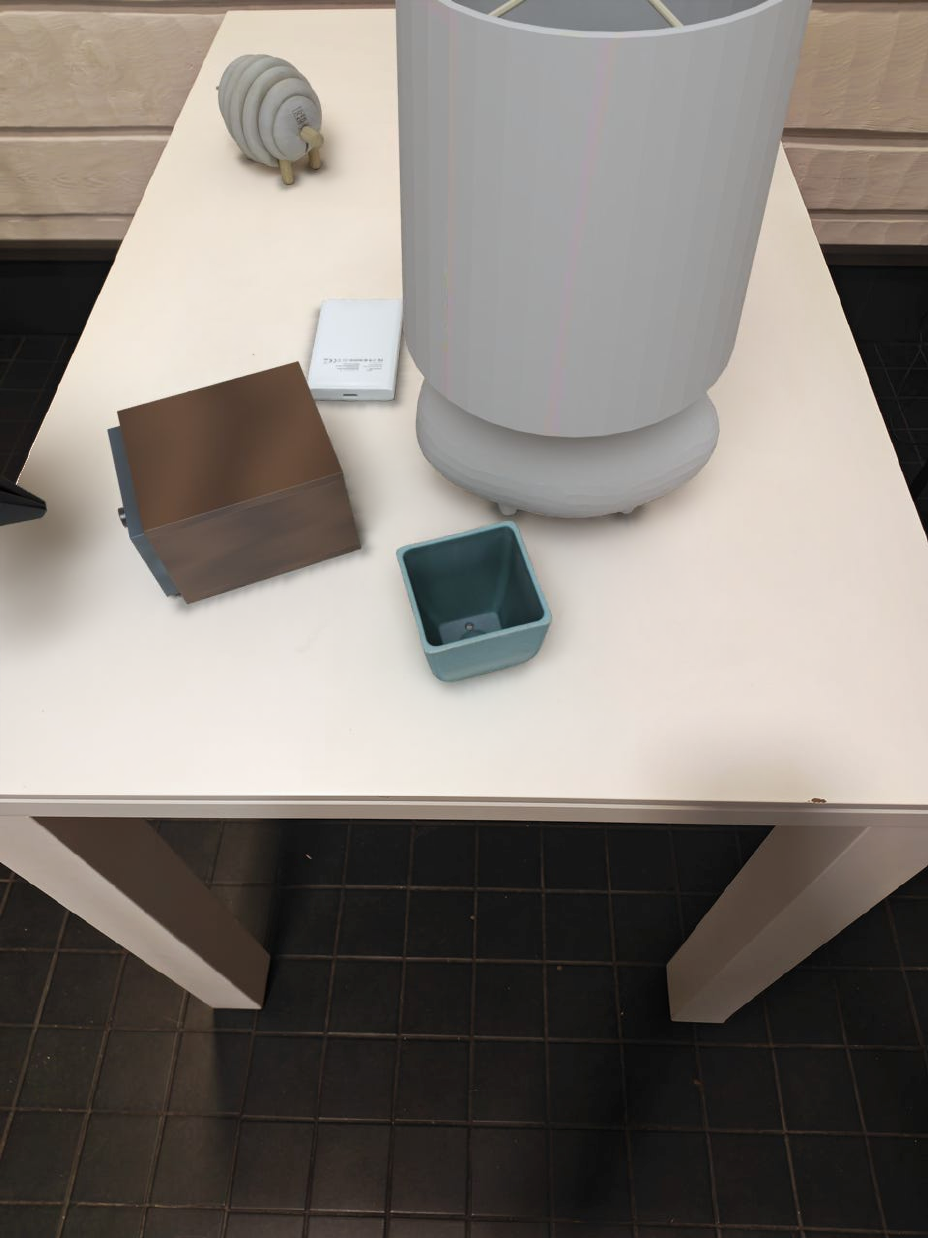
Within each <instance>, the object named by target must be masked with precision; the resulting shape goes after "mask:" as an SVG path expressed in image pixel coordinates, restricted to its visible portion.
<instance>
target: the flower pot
mask: <svg viewBox="0 0 928 1238" xmlns="http://www.w3.org/2000/svg"><path fill="white" fill-rule="evenodd" d="M395 556H396V557H395V558H396V560H397V563H398V566H399V569H400V572H401V577H402V579H403V583H404V586H405V589H406V592H407V593H406V594H407V596H408V600H409V603H410V607H411V610H412V614H413V618H414V620H415V625H416V629H417V632H418V636H419V641H420V644H421V647H422V650H423V653H424V655H425V658H426V660H427V662H428V666H429V668H430V671H431V673H432V674H433V676H434V677H435V678H436V679H438V680H439V681H441V682H444V683H445V682H446V683H452V682H453V683H454V682H457V681H461V680H464V679H465V680H466V679H469V678H473V677H477V676H480V675H484V674H487V673H491V672H495V671H498V670H502V669H507V668H511V667H514V666H518V665H521V664H523V663H526V662H528V661H530V660H532V659H533V658H534V657H535V656H536V655H537V654H538V653H539V651H541V648H542V646H543V644H544V642H545V639H546V636H547V633H548V632H549V628H550V626H551V623H552V621H553V614H552V611H551V609H550V606H549V604H548V601H547V599H546V596H545V594H544V592H543V590H542V586H541V584H540V582H539V579H538V577H537V574H536V572H535V569H534V567H533V564H532V562H531V561H532V560H531V558H530V556H529V553H528V550H527V547H526V545H525V542H524V540H523V537H522V534H521V532H520V528H519V526H518V525H517V523H516V522H515V521H514V520H505V521H499V522H497V523H491V524H487V525H484V526H480V527H476V528H474V529H473V528H472V529H469V530H466V531H465V530H464V531H461V532H457V533H453V534H449V535H446V536H445V535H444V536H440V537H437V538H433V539H428V540H425V541H424V540H423V541H421V542H415V543H411V544H406V545H403V546H401V547H399V548H397V549H396V551H395ZM469 625H470V626H472V628H470V629H468V628H467V626H469Z"/></svg>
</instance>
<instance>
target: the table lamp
mask: <svg viewBox="0 0 928 1238" xmlns="http://www.w3.org/2000/svg"><path fill="white" fill-rule="evenodd" d="M394 2H395V41H396V43H395V44H396V77H397V78H396V80H397V81H396V82H397V84H396V85H397V120H398V121H397V123H398V161H399V162H398V163H399V166H398V167H399V168H398V169H399V200H400V201H399V203H400V242H401V243H400V244H401V283H402V285H401V287H402V291H401V292H402V301H403V323H402V330H403V337H404V341H405V345H406V348H407V351H408V353H409V355H410V357H411V359H412V361H413V363H414V365H415V367H416V369H417V370H418V372H419V373H420V374H421V375H422V376H423V378H424V379H423V381H422V384H421V387H420V390H419V394H418V398H417V401H416V402H417V403H416V413H415V432H416V433H415V434H416V440H417V443H418V446H419V449H420V451H421V453H422V455H423V457H424V458H425V459H426V461H427V462H428V463H429V464H430V465H431V466H432V467H433V469H435V470H436V471H437V472H438V473H439V475H441V476H442V477H444V478H445V479H447V480H448V481H449V482H451V483H452V484H454V485H455V486H456V487H458V488H461V489H463V490H464V491H466V492H468V493H471V494H473V495H475V496H477V497H480V498H482V499H484V500H487V501H490V502H492V503H495V504H498V508H499V509H498V510H499V512H500V514H502V515H504V516H507V517H508V516H514V515H515V514H516V513H517V512H518V510H519V511H523V512H527V513H531V514H536V515H541V516H546V517H551V518H552V517H553V518H559V519H560V518H561V519H585V518H595V517H601V516H606V515H610V514H612V515H613V514H616V513H622V514H631V513H632V512H634V510H635V509H636V508H637V507H640V506H642V505H646V504H648V503H650V502H653V501H655V500H657V499H659V498H662V497H665V496H667V495H668V494H670V493H672V492H674V491H676V490H678V489H679V488H681V487H682V486H684V485H685V484H687V483H688V482H690V481H691V480H692V479H694V478H695V477H696V476H697V475H698V474H699V473H700V472H701V471H702V470H703V468H704V467H705V466H706V465H707V464H708V463H709V461H710V459H711V458H712V456H713V454H714V452H715V450H716V448H717V444H718V441H719V437H720V431H721V430H720V421H719V420H720V419H719V414H718V411H717V408H716V407H715V404H714V403H713V400H711V398H710V396H709V394H708V393H707V392H708V391H709V390H710V389H711V388H712V387H713V386H714V385H715V384H716V383H717V381H718V380H719V379H720V377H721V376H722V375H723V373H724V371H725V370H726V368H727V367H728V364H729V362H730V359H731V357H732V355H733V352H734V349H735V346H736V342H737V341H736V340H737V337H738V333H739V328H740V324H741V318H742V315H743V311H744V310H743V309H744V306H745V302H746V301H745V300H746V298H747V297H746V296H747V292H748V288H749V282H750V279H751V274H752V270H753V265H754V261H755V256H756V252H757V247H758V243H759V239H760V235H761V229H762V227H763V226H762V225H763V221H764V216H765V212H766V208H767V203H768V199H769V194H770V190H771V186H772V181H773V177H774V174H775V173H774V172H775V168H776V164H777V159H778V154H779V150H780V145H781V142H782V136H783V132H784V128H785V124H786V119H787V114H788V110H789V106H790V101H791V97H792V92H793V88H794V83H795V80H796V76H797V75H796V74H797V70H798V65H799V61H800V57H801V53H802V49H803V43H804V40H805V35H806V30H807V26H808V21H809V17H810V13H811V8H812V4H813V0H395V1H394Z"/></svg>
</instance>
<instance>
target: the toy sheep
mask: <svg viewBox="0 0 928 1238" xmlns="http://www.w3.org/2000/svg"><path fill="white" fill-rule="evenodd" d="M215 90H216V91H217V102H218V107H219V112H220V114H221V117H222V119H223V121H224V124H225V126H226V129H227V131H228V133H229V135H230V137H231V138H232V139H233V141H234V142H235V143H236V144H237V146H238V147H239V149H240V150H241V152H242V153H244V158H246V159H247V160H249V161H250V160H252V161H254V162H257V163H260V164H263V165H266V166H269V167H273V168H279V169H280V172H281V176H282V181H283V183H284V184H286V185H291V184H293V183H294V181H295V177H294V172H293V167H292V164H294V163H295V162H296V161H298V160H299V159H301V158H303V157H304V156H306V155H307V156H308V162H309V165H310V167H311V168H312V169H314V170H317V169H320V167H321V165H322V162H321V156H320V152H319V148H321V147H323V145H324V141H325V140H324V136H323V134H321V133H320V132H321V129H322V123H323V122H322V121H323V112H322V111H323V110H322V104H321V102H320V98H319V96H318V94H317V93H316V91H315V89H314V88H313V87H312V85H311V83H310V81H309V80H308V79H307V77H306V76H305V75H304V74H303V73H301V72H300V71H299V70H298V69H297V68H296V66H294V65H293V64H292V63H291V62H289V61H287V60H286V59H283V58H280V57H277V56H272V55H268V54H263V53H262V54H261V53H260V54H259V53H258V54H244V55H240V56H239V57H236V58H235V59H234V60H232V61H231V62H230V63H229V64H228V65H227V67H226V68H225V69H224V71H223V73H222V75H221V78H220V79H219V84H218V85H217V86H215Z"/></svg>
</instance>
